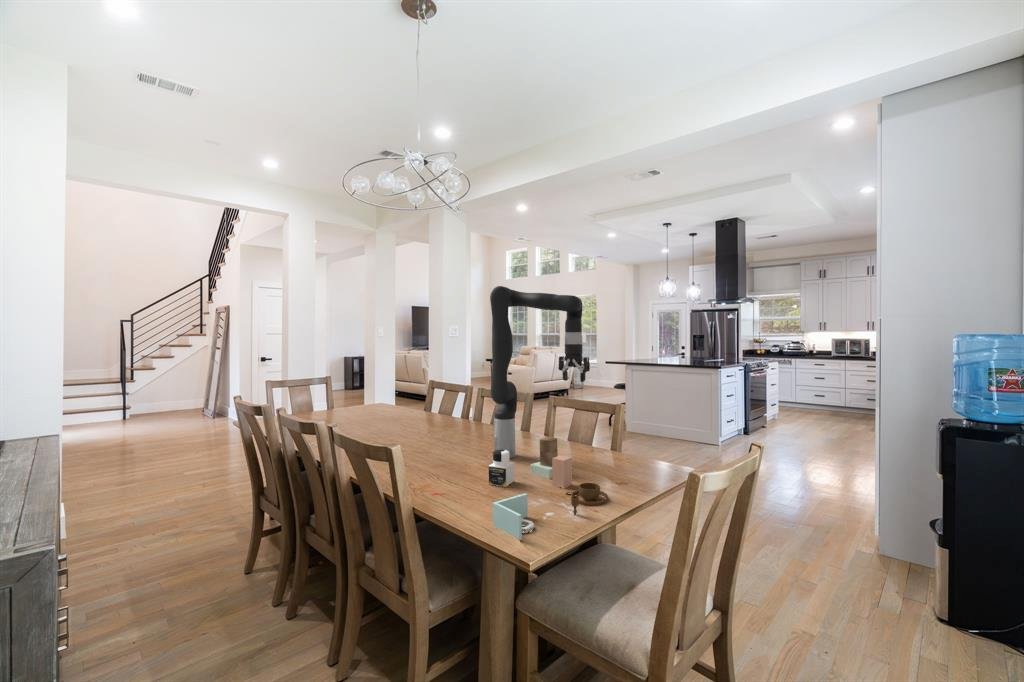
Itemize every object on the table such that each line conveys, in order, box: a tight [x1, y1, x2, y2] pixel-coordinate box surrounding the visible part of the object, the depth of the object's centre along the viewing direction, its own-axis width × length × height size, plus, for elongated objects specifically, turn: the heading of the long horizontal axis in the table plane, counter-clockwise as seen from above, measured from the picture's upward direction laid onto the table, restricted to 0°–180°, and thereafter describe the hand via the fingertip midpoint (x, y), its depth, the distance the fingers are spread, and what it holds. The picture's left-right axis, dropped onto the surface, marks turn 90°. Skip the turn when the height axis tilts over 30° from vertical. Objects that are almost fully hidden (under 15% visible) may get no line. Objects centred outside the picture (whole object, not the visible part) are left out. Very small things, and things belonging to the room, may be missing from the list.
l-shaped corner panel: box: [492, 493, 535, 540], centre depth 132 cm, size 12×12×8 cm
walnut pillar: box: [539, 436, 559, 467], centre depth 181 cm, size 5×5×10 cm
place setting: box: [565, 482, 609, 516], centre depth 151 cm, size 18×20×6 cm
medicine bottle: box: [488, 450, 515, 488], centre depth 171 cm, size 7×7×12 cm
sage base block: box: [529, 461, 552, 480], centre depth 182 cm, size 10×10×4 cm
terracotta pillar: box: [551, 454, 573, 489], centre depth 167 cm, size 5×5×10 cm
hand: (573, 381), depth 198 cm, fingers open, 8 cm apart
